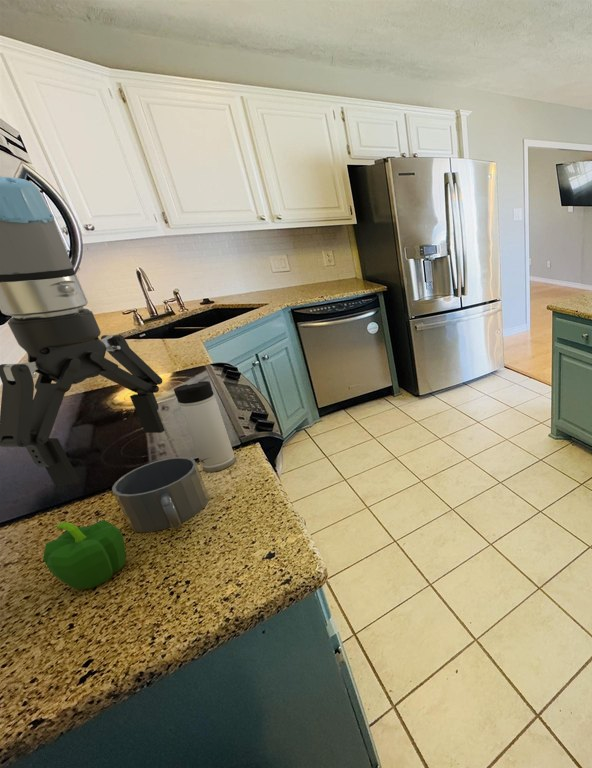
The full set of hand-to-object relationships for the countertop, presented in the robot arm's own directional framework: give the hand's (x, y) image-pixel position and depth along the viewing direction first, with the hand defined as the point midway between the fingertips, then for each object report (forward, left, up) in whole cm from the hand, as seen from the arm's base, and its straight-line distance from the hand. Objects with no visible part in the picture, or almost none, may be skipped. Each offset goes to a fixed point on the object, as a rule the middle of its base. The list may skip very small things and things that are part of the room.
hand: (115, 454), depth 60 cm
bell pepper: (-8, -1, -20) cm, 21 cm away
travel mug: (+4, +27, -20) cm, 34 cm away
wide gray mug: (-1, +11, -19) cm, 23 cm away
